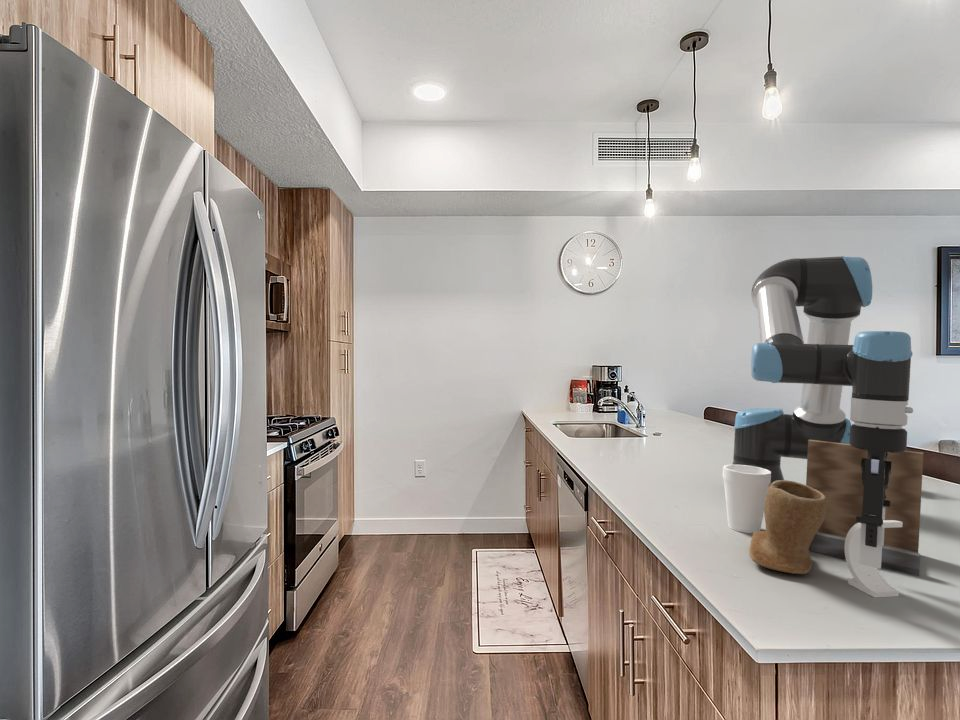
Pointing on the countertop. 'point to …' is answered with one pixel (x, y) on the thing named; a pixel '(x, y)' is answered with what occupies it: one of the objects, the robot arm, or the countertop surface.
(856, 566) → the white curved saddle bracket
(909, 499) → the board
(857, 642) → the countertop surface
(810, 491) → the tan suede boot
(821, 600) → the countertop surface
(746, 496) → the foam cup
